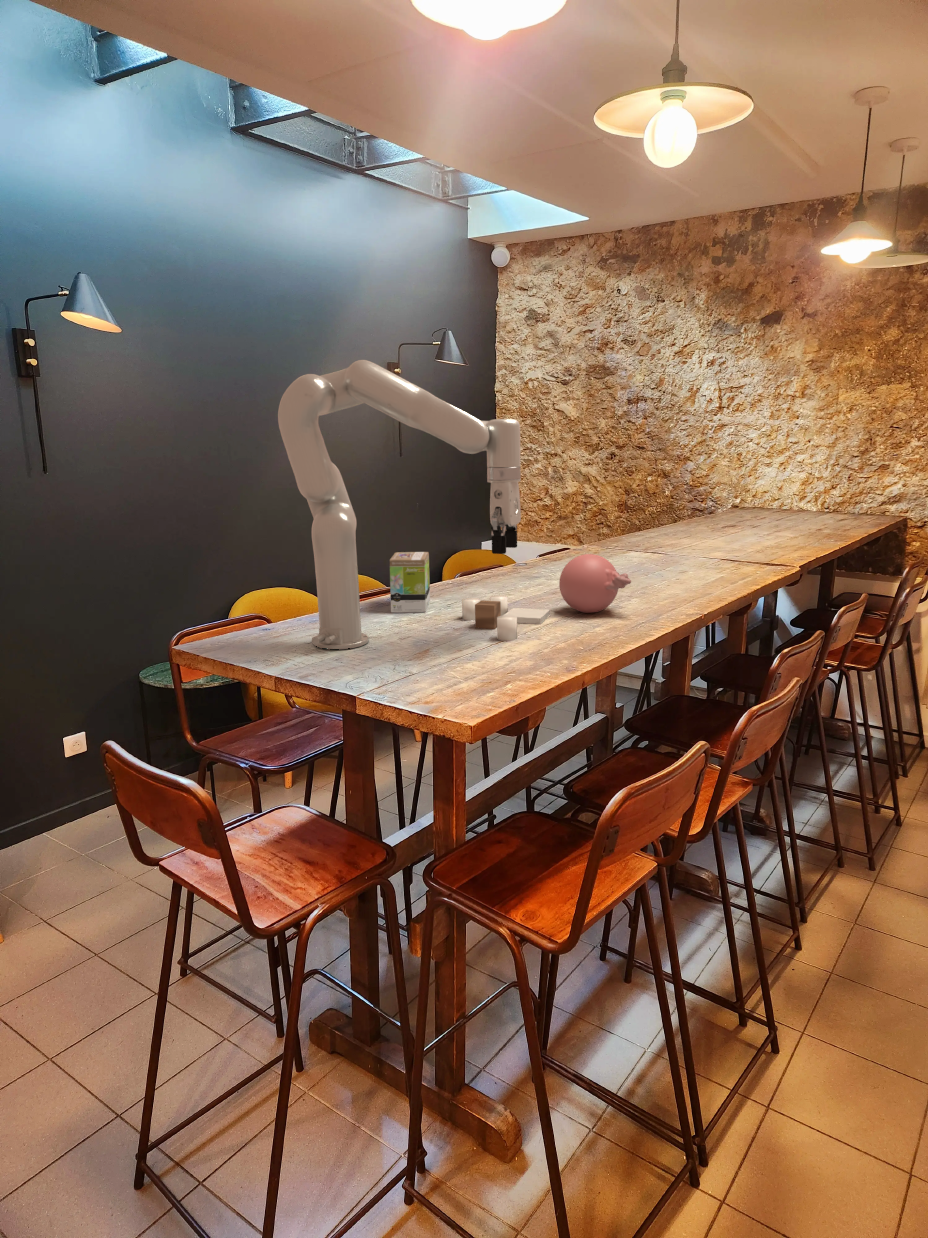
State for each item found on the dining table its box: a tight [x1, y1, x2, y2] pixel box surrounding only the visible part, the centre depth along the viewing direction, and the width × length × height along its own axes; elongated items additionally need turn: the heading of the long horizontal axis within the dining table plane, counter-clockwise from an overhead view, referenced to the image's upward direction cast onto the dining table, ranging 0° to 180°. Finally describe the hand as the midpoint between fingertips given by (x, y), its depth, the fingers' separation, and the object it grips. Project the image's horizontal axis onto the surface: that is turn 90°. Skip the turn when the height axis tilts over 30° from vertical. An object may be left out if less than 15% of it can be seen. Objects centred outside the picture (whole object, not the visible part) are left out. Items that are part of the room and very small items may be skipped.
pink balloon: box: [559, 553, 632, 614], centre depth 205 cm, size 15×20×15 cm
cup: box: [496, 615, 518, 642], centre depth 184 cm, size 5×5×5 cm
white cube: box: [461, 597, 481, 622], centre depth 204 cm, size 5×5×5 cm
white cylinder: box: [489, 594, 509, 616], centre depth 207 cm, size 5×5×5 cm
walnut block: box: [474, 600, 501, 630], centre depth 195 cm, size 5×5×6 cm
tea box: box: [389, 551, 431, 614], centre depth 218 cm, size 15×10×15 cm, turn 179°
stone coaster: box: [504, 607, 551, 625], centre depth 203 cm, size 10×10×2 cm
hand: (504, 550), depth 182 cm, fingers open, 9 cm apart
